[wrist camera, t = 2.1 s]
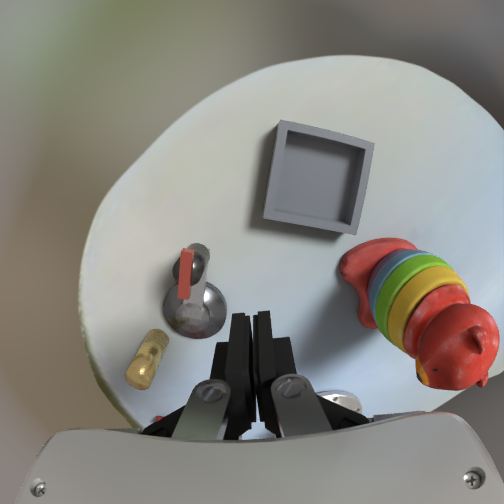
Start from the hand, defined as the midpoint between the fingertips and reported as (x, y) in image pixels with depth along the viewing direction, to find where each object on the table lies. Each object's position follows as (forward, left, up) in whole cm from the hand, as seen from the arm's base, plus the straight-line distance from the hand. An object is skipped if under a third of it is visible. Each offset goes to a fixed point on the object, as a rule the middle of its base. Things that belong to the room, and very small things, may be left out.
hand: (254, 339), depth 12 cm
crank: (-5, +5, -15) cm, 17 cm away
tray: (+7, -5, -17) cm, 19 cm away
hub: (-9, +5, -17) cm, 19 cm away
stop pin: (-14, +10, -17) cm, 24 cm away
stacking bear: (-2, -16, -17) cm, 23 cm away
